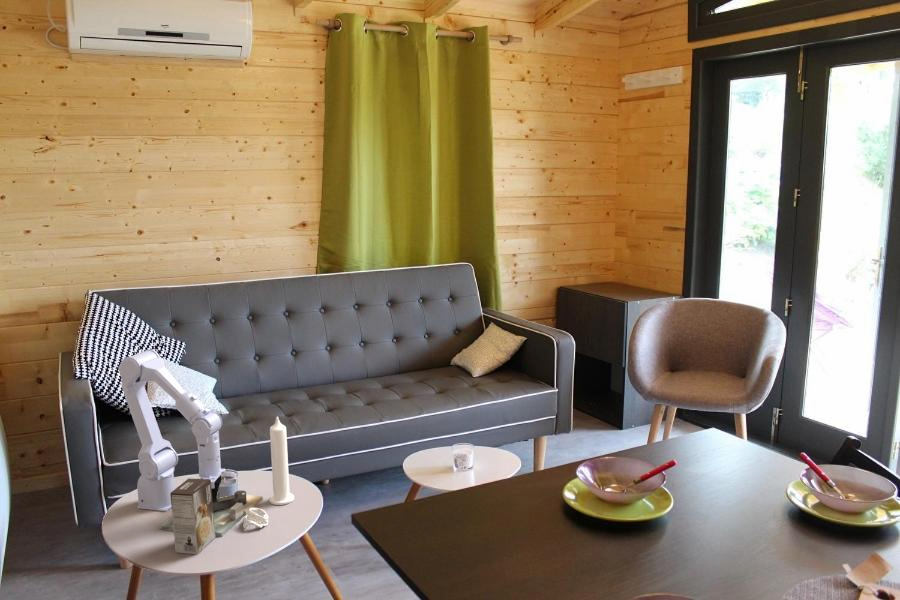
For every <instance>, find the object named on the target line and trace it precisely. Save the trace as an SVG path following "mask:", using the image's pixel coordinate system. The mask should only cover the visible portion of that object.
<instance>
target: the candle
mask: <svg viewBox="0 0 900 600" xmlns="http://www.w3.org/2000/svg"><path fill="white" fill-rule="evenodd" d="M287 436H288V435H287V427H286V425H284V424H283V423H282V422H281V421H280V419H279V416H276V417H275V421H274V424H273V425H272V426H270V427H269V439H270V440H269V441H270V455H271V458H270V459H271V474H272V475H271V476H272V477H271V479H272V493H273V494H272V495H271V496H270V497H268V502H269V504H271V505H274V506H285V505H288V504H291V503H292V502H293V501H294V500H295V495H294V494H293V493H291V492H290V475H289V473H290V472H289V459H288V457H289V455H288V440H287V438H288V437H287Z"/></svg>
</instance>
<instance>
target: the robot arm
mask: <svg viewBox="0 0 900 600" xmlns="http://www.w3.org/2000/svg"><path fill="white" fill-rule="evenodd" d="M117 369H118V372H119V375H120V378H121V389H122V391H123V394H124V397H125V400H126V403H127V405H128V408H129V412H130V414H131V417H132V421H133V423H134V426H135V428H136V431H137V436H138V437H139V440H140V442H141V443H140V444H141V448H140V450H139V452H138V454H137V459H138V461H139V462H138V463H139V464H138V468H139V473H140V474H141V475H140V476H139V478H138V479H137V485H136V486H137V487H136V488H137V498H138V505H137V506H136V508H137V509H142V510H152V511H161V512H168V511H169V510H170V509H172V506H171V495H170V493H171V492H172V491H173V490H175V489H176V487H175V478H174V477H175V475H174V472H175V467H176V465H177V464H178V462H179V456H178V453H177V451H175V449H174V448H173V446H172V444H171V442H170V441H169V440H166V439H164V438H163V436H162V434H161V431H160V428H159V425H158V422H157V420H156V417H155V416H156V415H155V414H154V413H155V412H154V411H153V410H154V409H153V407H152V404H151V402H150V399H149V396H148V393H147V389H146V388H145V386H146V384H147V383H148V382H153V383H156V384H157V385H158V386H159V387H160V388H161V389H162V390H163V391H164V392H166V394H168V395H169V396H170V397H171V398H172V399H173V400H174V401H175V409H176V410H177V411H178V412H180V414H181V415H182V416H183V418H185V419H186V420H187V421H188V422H189V423H190V424H191V425H192V426H191V427H190V429H191V431H192V434H193V436H194V437H195V441H196V445H197V458H198V470H199V471H198V477H199V479H211V489H212V499H217V494H218V492H219V489H220V488H219V487H220V486H221V483H222V475H223V474H226V471H227V470H226V468H222V466H221V464H222V463H221V450H220V447H221V446H220V433H219V431H220V430H221V428H222V426H223V418H222V417H221V415H220V414H219V412H218V411H215V410H211V409H210V408H207V406H205V405H204V403H203V402H202V401H201V400H200V399H199V397H198V396H197V394H194V392H187V391H185V390H184V389H183V386H181V385H180V383H179V382H178V381H177V380H176V378H175V377H174V376H173V375H172V374H171V372H170V371H169V370H168V369H167V367H166V366H165V360H164V359H163V357H161V356H160V354H159V353H158V352H157V351H156V350H154V349H145V350H144V351H143V352H139V353H136V354H134V355H131V356H127V357H124V358H123V359H122V361H121V362H120V364H119V366H118V367H117Z"/></svg>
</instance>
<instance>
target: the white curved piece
mask: <svg viewBox="0 0 900 600" xmlns="http://www.w3.org/2000/svg"><path fill="white" fill-rule="evenodd" d="M268 524H269V515H268V514H267V512H266V511H265V510H264V509H262V508H258V507H254V508H250V509H249V510H248V512H247V514H246V515H245V516H244V519H243V525H242V527H243V530H246V529H247V527H248V526H250V525H253V526H255V527H258V528H260V529H262V528H263V527H267V526H268Z"/></svg>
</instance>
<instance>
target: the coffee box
mask: <svg viewBox="0 0 900 600" xmlns="http://www.w3.org/2000/svg"><path fill="white" fill-rule="evenodd" d="M170 495H171V506H172V507H171V517H173V528H174V531H173V536H174V538H173V539H174V548H175V553H178V554H190V555H191V554H193V555H199V554H200V553H201V552H203V550H204V549H205V548H206V547H207V546H208V545H209V544H210V543H211V542H212V541H213V540H214V539H215V538H216V536H215V526H214V514H213V502H212V489H211V479H201V478H189V477H188V478H187V479H185V481H183V482H182V483H181V484H179V485H178V486H177V487H175V490H173V491H172V492H171V493H170Z"/></svg>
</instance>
